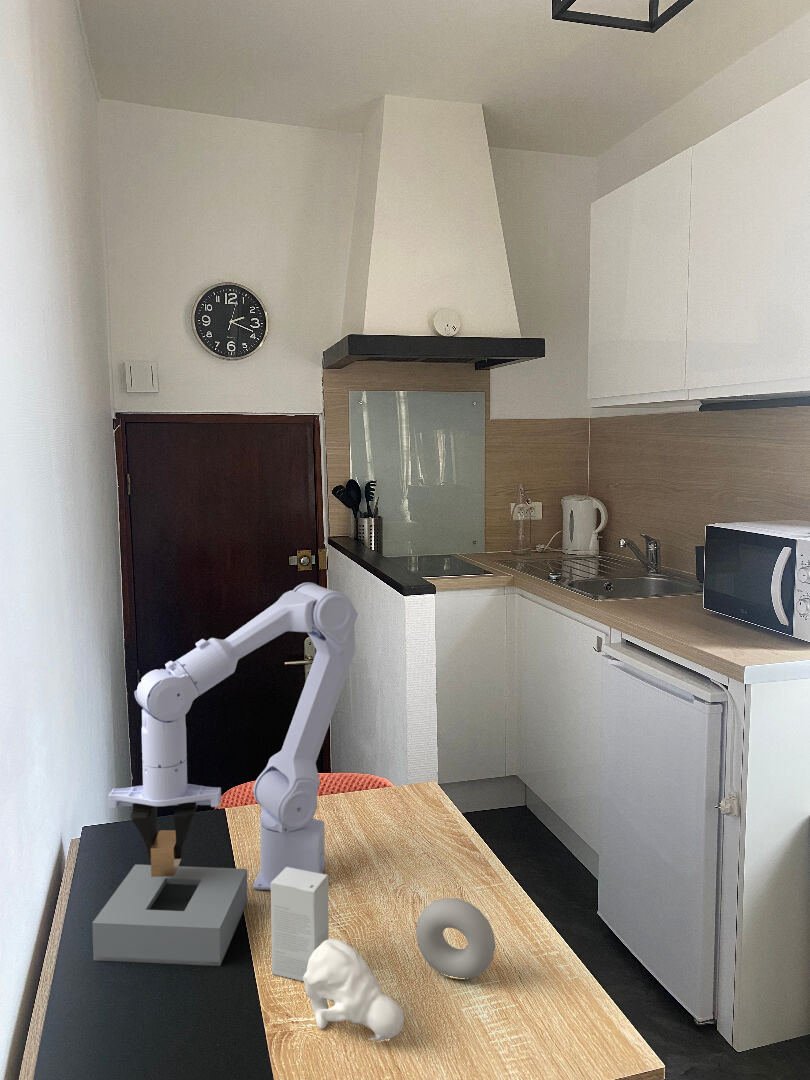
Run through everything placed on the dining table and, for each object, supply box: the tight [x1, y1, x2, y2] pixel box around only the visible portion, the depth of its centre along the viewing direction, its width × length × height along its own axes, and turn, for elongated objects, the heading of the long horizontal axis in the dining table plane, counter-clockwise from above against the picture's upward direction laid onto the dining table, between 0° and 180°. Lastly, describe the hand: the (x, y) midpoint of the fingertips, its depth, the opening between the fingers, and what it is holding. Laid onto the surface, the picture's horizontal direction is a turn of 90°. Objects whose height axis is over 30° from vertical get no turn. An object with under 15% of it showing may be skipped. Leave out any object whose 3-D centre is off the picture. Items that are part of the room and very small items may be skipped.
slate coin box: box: [91, 864, 248, 967], centre depth 107 cm, size 16×14×5 cm
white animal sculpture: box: [302, 937, 405, 1042], centre depth 89 cm, size 6×8×12 cm
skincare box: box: [270, 867, 330, 982], centre depth 99 cm, size 6×4×12 cm
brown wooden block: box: [150, 829, 183, 877], centre depth 110 cm, size 3×5×4 cm, turn 4°
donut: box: [415, 897, 497, 980], centre depth 98 cm, size 10×3×10 cm, turn 69°
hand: (166, 855), depth 110 cm, fingers closed on brown wooden block, 3 cm apart
